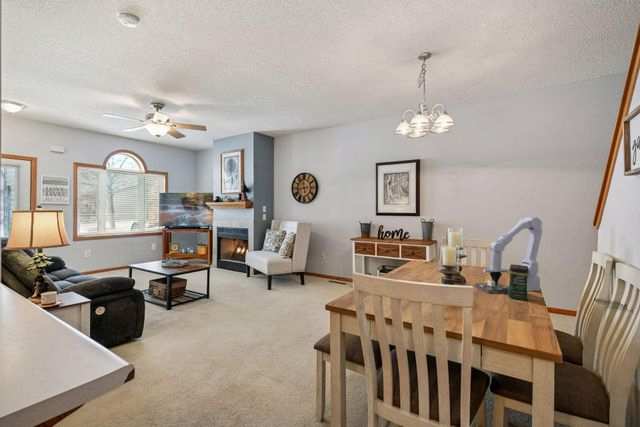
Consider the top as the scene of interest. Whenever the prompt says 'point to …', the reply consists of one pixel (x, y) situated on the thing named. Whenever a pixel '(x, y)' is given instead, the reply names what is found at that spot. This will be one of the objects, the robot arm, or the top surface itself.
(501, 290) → the console
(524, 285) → the coffee jar
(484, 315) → the top surface
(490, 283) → the fader cap
